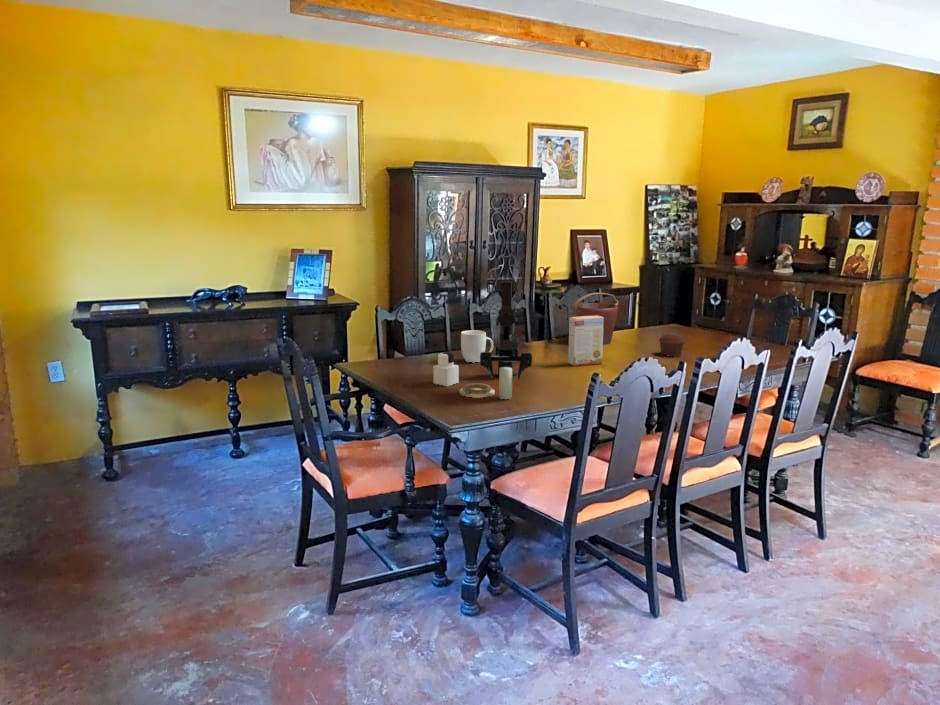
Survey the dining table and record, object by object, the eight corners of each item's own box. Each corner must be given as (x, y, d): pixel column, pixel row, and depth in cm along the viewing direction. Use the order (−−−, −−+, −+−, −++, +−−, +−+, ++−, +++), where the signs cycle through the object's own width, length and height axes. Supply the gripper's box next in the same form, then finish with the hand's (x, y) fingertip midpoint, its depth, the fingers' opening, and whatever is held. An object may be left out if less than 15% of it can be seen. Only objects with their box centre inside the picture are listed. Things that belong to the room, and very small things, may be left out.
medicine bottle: (445, 380, 270) (445, 350, 268) (459, 383, 266) (458, 353, 263) (433, 383, 265) (432, 353, 262) (446, 386, 261) (446, 356, 258)
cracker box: (595, 361, 304) (597, 314, 299) (602, 364, 298) (604, 316, 294) (567, 363, 299) (568, 316, 295) (573, 366, 294) (575, 318, 289)
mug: (488, 357, 311) (488, 329, 308) (497, 362, 301) (497, 333, 298) (457, 359, 306) (457, 331, 303) (465, 364, 296) (465, 335, 293)
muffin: (686, 353, 319) (687, 332, 317) (681, 358, 309) (683, 336, 307) (660, 351, 324) (662, 330, 322) (655, 355, 315) (656, 334, 313)
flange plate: (473, 386, 261) (473, 376, 260) (501, 392, 253) (501, 381, 252) (452, 394, 250) (452, 383, 250) (480, 400, 243) (480, 389, 242)
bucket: (613, 337, 357) (615, 290, 352) (625, 346, 336) (627, 295, 331) (567, 338, 356) (568, 290, 351) (576, 346, 334) (577, 296, 329)
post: (503, 395, 249) (504, 366, 246) (514, 397, 246) (514, 368, 244) (496, 398, 245) (496, 368, 243) (507, 400, 242) (507, 370, 240)
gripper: (480, 330, 246) (478, 366, 237) (532, 330, 245) (532, 367, 236) (481, 347, 255) (479, 383, 247) (531, 347, 254) (531, 384, 246)
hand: (505, 379), depth 243 cm, fingers open, 9 cm apart
